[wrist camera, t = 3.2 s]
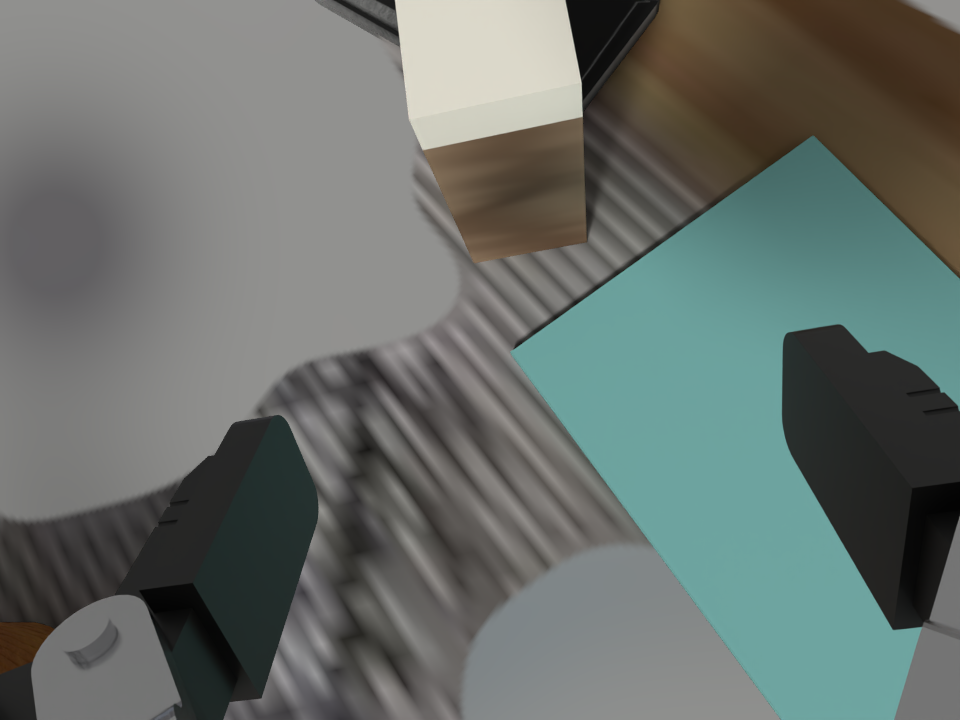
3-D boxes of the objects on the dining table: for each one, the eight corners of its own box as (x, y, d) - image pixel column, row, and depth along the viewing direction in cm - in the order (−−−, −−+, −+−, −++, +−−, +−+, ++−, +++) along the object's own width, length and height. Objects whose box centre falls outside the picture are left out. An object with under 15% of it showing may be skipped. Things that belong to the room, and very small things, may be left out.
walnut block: (473, 263, 28) (409, 119, 18) (460, 163, 29) (392, -21, 19) (586, 242, 27) (581, 82, 18) (568, 141, 28) (553, -60, 19)
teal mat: (511, 355, 26) (510, 351, 26) (809, 142, 27) (813, 135, 26) (848, 811, 21) (854, 817, 21) (1216, 544, 21) (1229, 544, 21)
